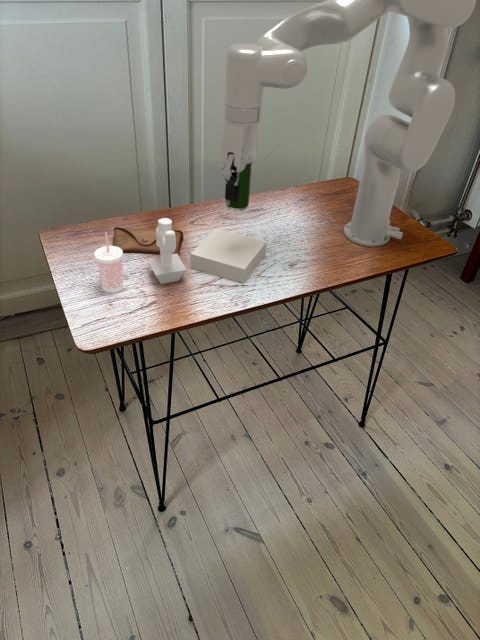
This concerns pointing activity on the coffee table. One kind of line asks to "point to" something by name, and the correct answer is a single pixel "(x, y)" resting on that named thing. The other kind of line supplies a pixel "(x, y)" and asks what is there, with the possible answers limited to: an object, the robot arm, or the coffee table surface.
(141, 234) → the sunglasses case
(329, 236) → the coffee table surface
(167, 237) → the figurine
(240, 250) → the riser block
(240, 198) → the beer can
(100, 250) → the beverage cup
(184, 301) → the coffee table surface
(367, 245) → the robot arm
